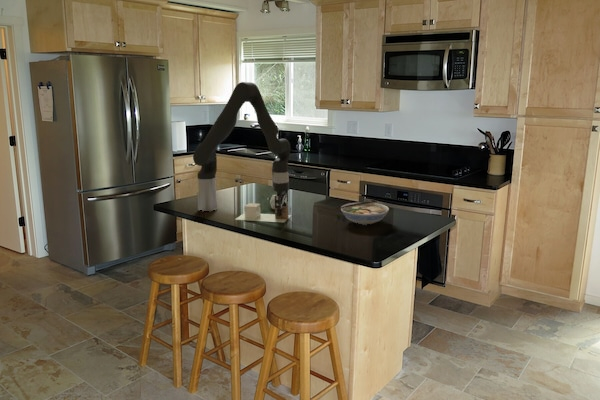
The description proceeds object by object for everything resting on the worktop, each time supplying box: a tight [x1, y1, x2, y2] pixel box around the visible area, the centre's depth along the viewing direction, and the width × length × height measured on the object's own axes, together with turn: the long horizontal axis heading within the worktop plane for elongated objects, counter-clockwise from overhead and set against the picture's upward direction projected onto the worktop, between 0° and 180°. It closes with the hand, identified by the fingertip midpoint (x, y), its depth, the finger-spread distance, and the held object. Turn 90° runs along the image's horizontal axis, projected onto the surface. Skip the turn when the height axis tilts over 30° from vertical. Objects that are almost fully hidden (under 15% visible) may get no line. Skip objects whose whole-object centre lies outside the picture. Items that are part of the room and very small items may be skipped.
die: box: [269, 194, 279, 210], centre depth 272 cm, size 8×9×10 cm
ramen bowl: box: [334, 199, 390, 226], centre depth 245 cm, size 25×23×8 cm
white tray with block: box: [234, 205, 292, 223], centre depth 255 cm, size 25×13×7 cm, turn 75°
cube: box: [244, 202, 262, 219], centre depth 256 cm, size 6×6×6 cm
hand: (281, 213), depth 253 cm, fingers open, 8 cm apart
